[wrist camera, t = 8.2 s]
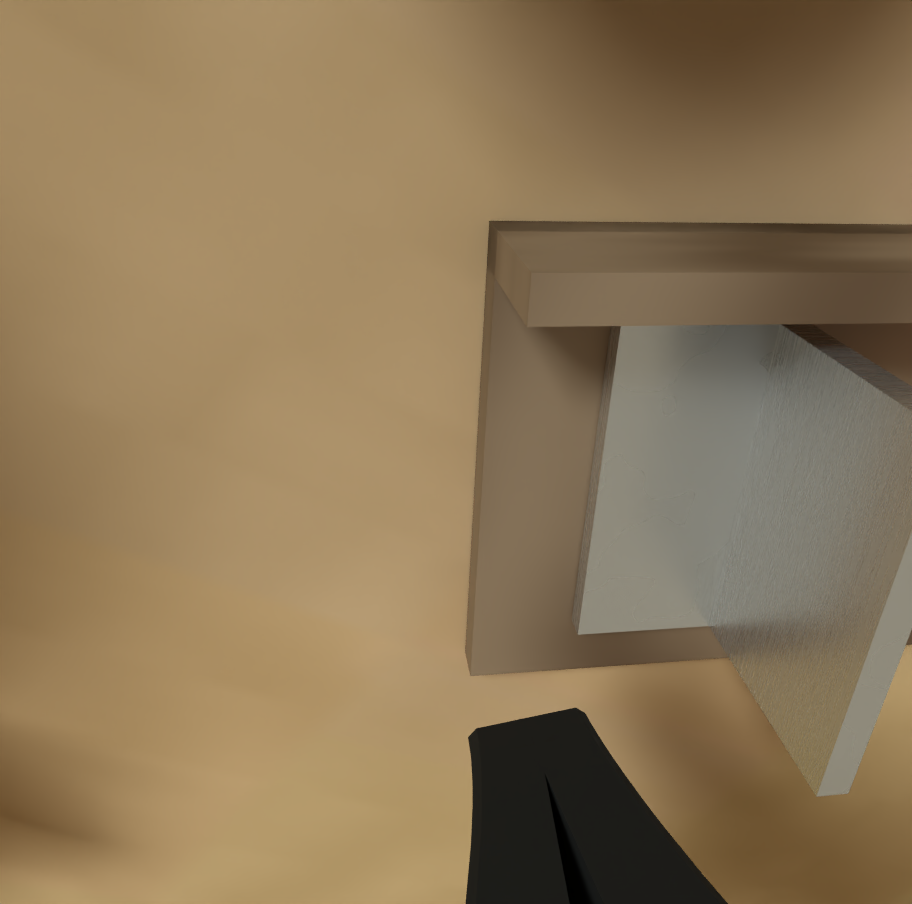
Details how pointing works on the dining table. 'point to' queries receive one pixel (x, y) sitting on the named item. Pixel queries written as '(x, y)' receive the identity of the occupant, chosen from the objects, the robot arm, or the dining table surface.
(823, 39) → the dining table surface
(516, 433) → the shelf
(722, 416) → the bookend
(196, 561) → the dining table surface
